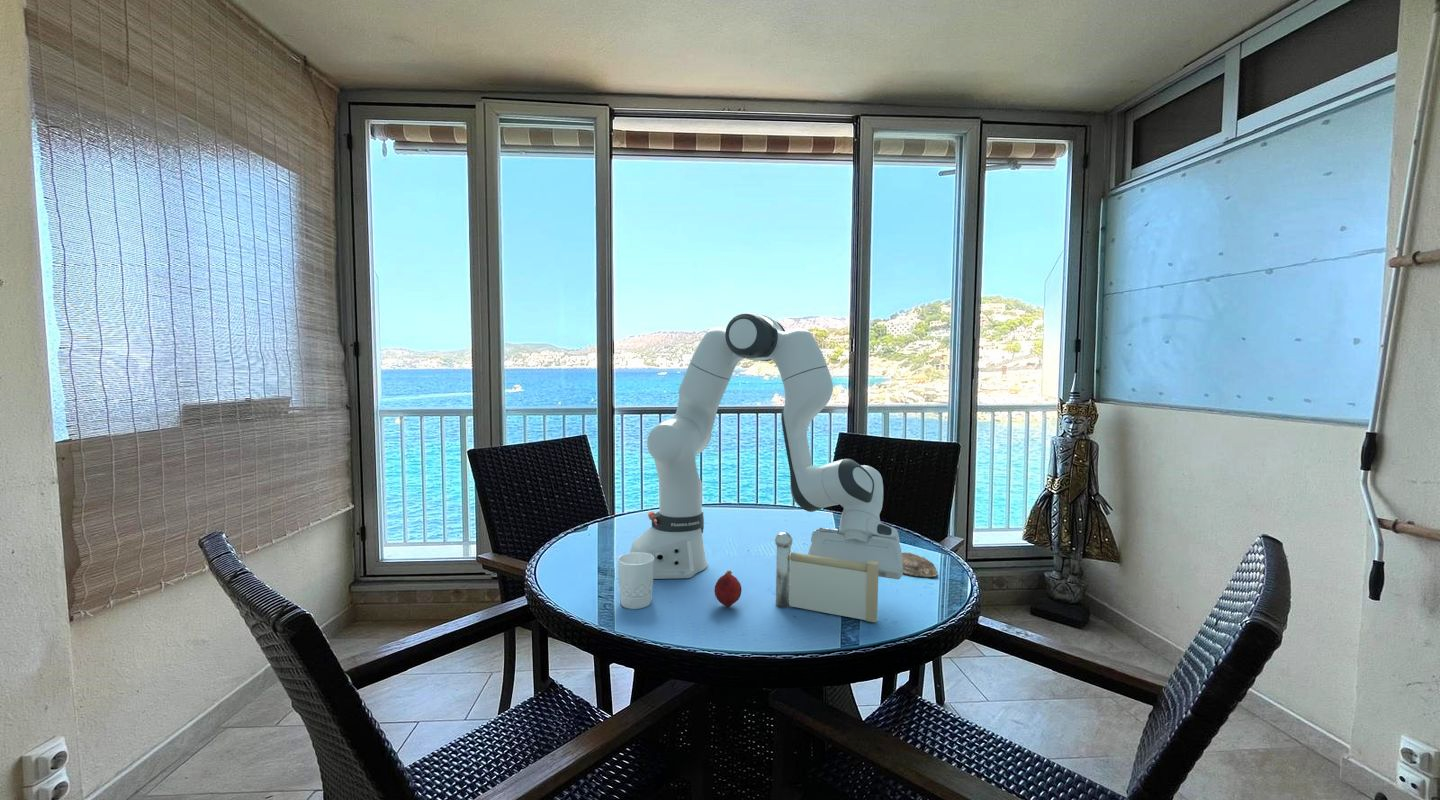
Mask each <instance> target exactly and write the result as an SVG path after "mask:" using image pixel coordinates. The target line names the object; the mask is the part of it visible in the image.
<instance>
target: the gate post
mask: <svg viewBox="0 0 1440 800" xmlns="http://www.w3.org/2000/svg"><path fill="white" fill-rule="evenodd" d="M774 543H775V546H776V567H775V568H776V570H775V573H776V574H775V578H776V579H775V606H776V607H778V608H780V609H781V608H782V609H786V608H788V607H790V561H791V560H790V556H791V552H792V551H791V549H792V548H791V547H792V545H793V537H792V535H791V534H790V533H788V532H786V531H780V532H779V533H778V534H777V535H776V536H775V538H774Z"/></svg>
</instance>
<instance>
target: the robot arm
mask: <svg viewBox="0 0 1440 800" xmlns="http://www.w3.org/2000/svg"><path fill="white" fill-rule="evenodd" d="M744 359H747V360H750V361H755V362H759V361H760V362H769V361H770V362H771V361H772V362H774V364H775V366H776V367H777V370H778V372H779V374H780V378H781V381H782V385H783V389H784V406H783V408H782V409H781V415H780V416H781V418H780V419H781V427H782V433H783V434H782V435H783V438H784V444H785V452H786V457H787V462H788V467H789V475H790V476H789V477H790V480H789V481H790V482H789V483H790V484H789V486H790V493H791V497H792V499H793V501H794V502H795V503H796V504H797V506H799V507H800V508H801V509H802V510H804V511H806V512H810V513H813V512H816V511H820V510H822V509H825V508H828V507H832V506H838V505H840V506H841V507H842V508H843V510H842V513H841V515H840V521H839V528H838V529H837V528H825V527H819V528H817V529H815V530H813V531H812V533H811V538H810V542H811V544H810V547H809V549H808V553H807V554H808V555H815V556H821V557H828V558H835V559H842V560H849V561H856V562H862V563H868V561H869V560H872V561H879V572H878V578H885V579H890V580H891V579H892V580H900V579H901V578H902V577H903V575H904V574H903V561H902V553H903V551H902V547H901V544H900V535H899V532H898V529H896V528H895V527H892V526H890V525H888V524H885V523H882V522H881V518H880V514H881V511H882V509H883V504H884V483H883V482H884V481H883V477H882V475H881V473H880V472H879V471H878V470H877V469H875V468H874V467H872V466H870V465H865V464H863V465H862V464H859V463H858V462H856V461H855V460H854V459H851V458H844V459H843V458H842V459H838V460H836V461H835V460H834V461H832V462H828V463H826V464H822V465H819V466H818V465H817V466H814V465H813V464H812V463H813V462H812V458H811V453H810V452H811V451H810V447H809V441H808V428H809V426H810V424H811V423H812V421H813V419H815V417H817V415H818V414H819V413H820V412H821V411H823V410H824V408H825V407H827V405H828V404H829V401H830V400H831V398H832V395H833V391H834V383H833V379H832V376H831V372H830V370H829V367H828V365H827V361H826V360H825V357H824V355H823V351H822V349H821V348H820V346H819V344H818V342H817V340H816V338H815V337H814V334H812V332H810V331H809V330H807V329H804V328H794V329H790V330H785V328H784V327H783V325H782V324H780V322H778V321H776V320H775V319H772V318H771V317H769V316H766V315H762V314H758V313H754V312H743V313H740V314H738V315H737V314H736V316H733V317H732V318H731V320H730V321H729V322H728V324H727V326H726V328H724V327H712V328H710V329H708V330H707V331H706V332H705V334H704V336H703V337H702V338H701V340H700V342H699V343H698V345H697V347H696V348H695V351H694V353H693V355H692V357H691V360H690V361H689V364H688V366H687V369H686V371H685V373H684V376H683V378H682V381H681V383H680V386H679V388H678V401H677V402H678V403H677V409H676V411H675V413H674V416H673V418H669V419H666V420H663V421H661V422H660V423H658V424H657V425H655V426H654V427H653V428H652V429H651V430H650V431H649V434H648V435H647V441H646V445H647V449H648V453H649V454H650V456H651V458H653V461H654V463H655V468H656V472H657V477H658V485H659V499H658V500H659V511H657V512H655V511H653V510H651V511H649V512H648V514H647V517H648V518H649V520H650V521H651V527H649V528H648V529H646V531H644V532H643V533H642V534H641V535H639V536H638V537H637V538H635V539H634V540H633V541H632V544H631V547H630V549H629V550H630V551H629V553H635V552H642V553H648V554H651V555H653V556H654V573H653V580H655V579H659V580H660V579H665V580H666V579H690V578H692V577H694V575H695V574H698V573H699V572H701V571H703V570H705V569H707V568H708V561H707V556H706V554H705V553H706V552H705V547H704V538H703V533H704V529H705V528H704V527H705V522H704V521H705V518H704V517H705V516H704V512H703V509H702V508H703V506H702V505H703V502H702V501H703V496H702V495H703V483H702V482H703V481H702V480H701V479H700V475H699V473H698V468H697V462H696V456H697V455H699V454H702V452H703V451H704V450H706V449H707V447H708V445H709V444H710V441H711V439H712V432H713V428H714V424H715V420H716V417H717V412H718V409H719V406H720V404H721V402H722V399H723V397H724V393H726V390H727V387H728V385H729V383H730V380H731V379H732V375H733V374H734V370H735V369H736V367H737V365H738V364H739V363H740V361H742V360H744Z"/></svg>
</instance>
